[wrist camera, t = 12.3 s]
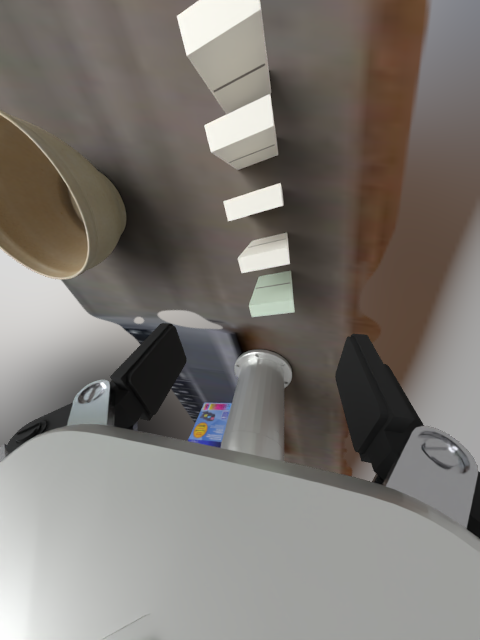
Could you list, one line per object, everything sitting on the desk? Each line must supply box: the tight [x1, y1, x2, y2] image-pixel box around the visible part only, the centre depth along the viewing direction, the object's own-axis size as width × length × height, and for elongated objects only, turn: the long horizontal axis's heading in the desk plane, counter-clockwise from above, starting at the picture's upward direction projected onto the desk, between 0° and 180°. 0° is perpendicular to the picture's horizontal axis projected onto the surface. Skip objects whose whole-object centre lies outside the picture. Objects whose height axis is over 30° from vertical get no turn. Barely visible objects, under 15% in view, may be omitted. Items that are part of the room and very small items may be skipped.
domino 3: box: [223, 183, 284, 221], centre depth 20 cm, size 2×5×10 cm, turn 105°
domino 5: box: [249, 271, 295, 317], centre depth 25 cm, size 2×5×10 cm, turn 105°
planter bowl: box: [0, 110, 126, 279], centre depth 24 cm, size 16×16×11 cm
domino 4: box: [238, 232, 290, 273], centre depth 22 cm, size 2×5×10 cm, turn 105°
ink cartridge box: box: [188, 403, 232, 448], centre depth 47 cm, size 10×6×14 cm, turn 109°
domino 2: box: [204, 94, 278, 170], centre depth 18 cm, size 2×5×10 cm, turn 105°
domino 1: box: [177, 0, 271, 115], centre depth 15 cm, size 2×5×10 cm, turn 105°
